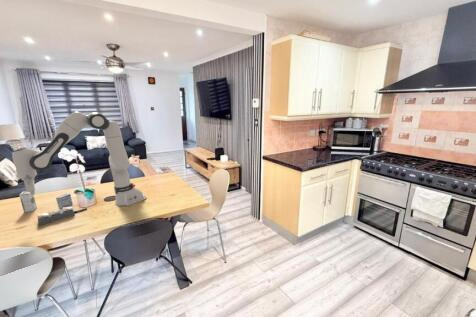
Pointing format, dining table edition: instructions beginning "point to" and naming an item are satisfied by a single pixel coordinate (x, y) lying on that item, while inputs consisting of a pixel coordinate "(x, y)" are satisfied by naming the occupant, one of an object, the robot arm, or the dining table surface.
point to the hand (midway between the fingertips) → (33, 194)
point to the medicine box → (64, 201)
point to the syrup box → (27, 201)
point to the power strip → (57, 216)
